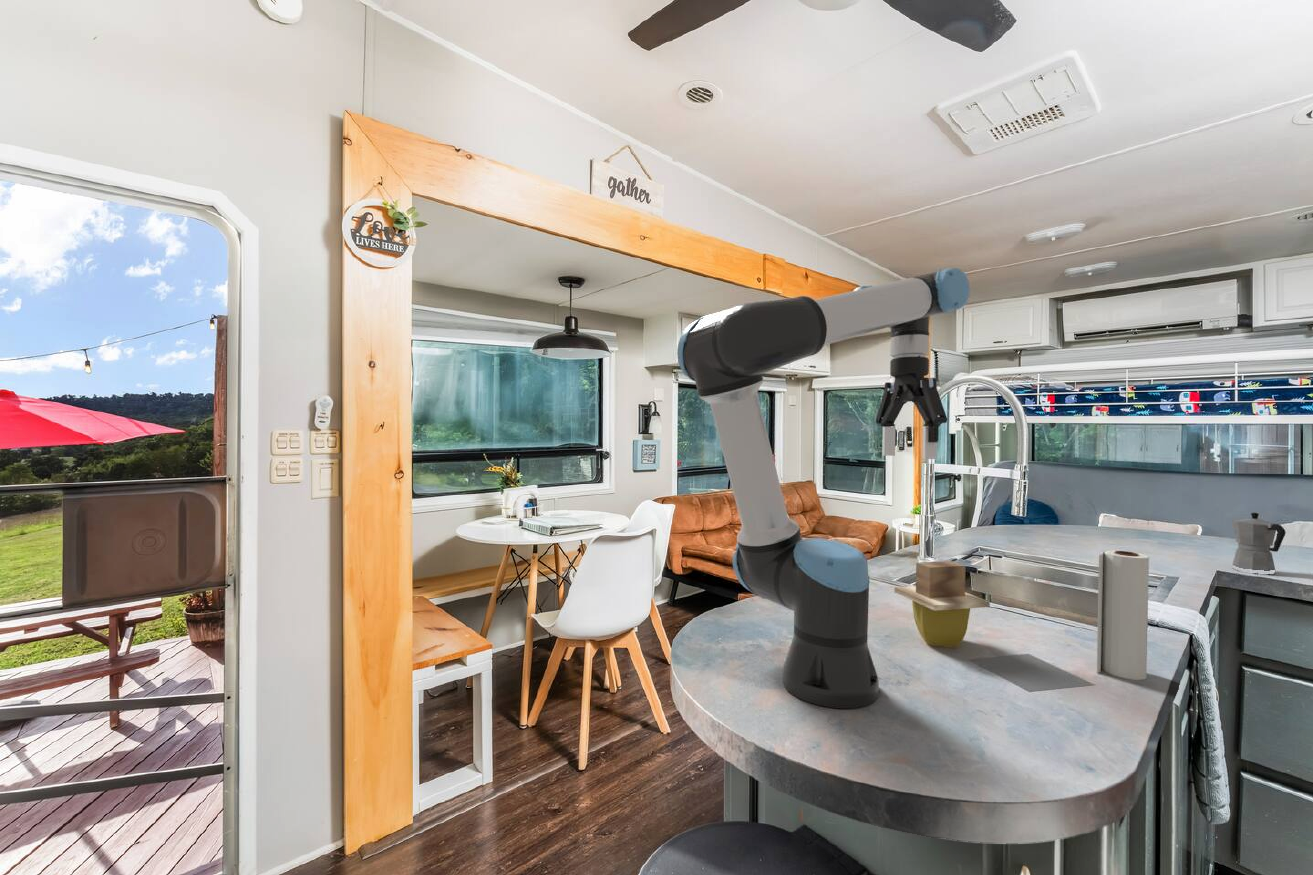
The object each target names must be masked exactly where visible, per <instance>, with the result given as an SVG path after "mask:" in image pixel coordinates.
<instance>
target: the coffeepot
mask: <svg viewBox="0 0 1313 875" xmlns="http://www.w3.org/2000/svg"><path fill="white" fill-rule="evenodd" d="M1250 515H1251V518H1242V519H1232V525H1233V532H1234V538H1235V542H1237V543H1238V544H1237V545H1238V548H1236V551H1235V552H1234V557H1233V560H1232V565H1234V566H1236V567H1239V568H1243V569H1252V570H1264V571H1270V570H1275V571H1276V568H1275V562H1274V558H1273V553H1272V552H1275V553H1276V552H1279V549H1280V548H1281V545H1282V542H1283V540H1284V538H1285V536H1286V529H1284V527H1283V526H1282V525H1281V524H1278V523H1273V522H1270V521H1266V520H1262V519H1259V518H1258V517H1259V515H1260V514H1259V513H1257V512H1250ZM1276 532H1277V533H1276ZM1275 536H1276V538H1275ZM1272 546H1273V547H1272ZM1232 565H1231V566H1232Z"/></svg>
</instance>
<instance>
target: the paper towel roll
mask: <svg viewBox="0 0 1313 875" xmlns="http://www.w3.org/2000/svg"><path fill="white" fill-rule="evenodd" d="M1149 570H1150V557H1149V555H1147V554H1143V553H1141V552H1140V553H1138V552H1133V551H1127V550H1105V551H1102V552H1101V553H1099V555H1098V584H1097V585H1098V588H1097V589H1098V593H1097V632H1096V634H1097V638H1096V641H1097V642H1096V674H1099V673H1101V672H1102V671H1101V670H1104V672H1105V673H1108V674H1110V675H1112V676H1115V677H1119V678H1122V679H1127V680H1134V681H1143V680H1146V679H1147V675H1148V673H1147V667H1148V666H1147V665H1148V624H1149V623H1148V622H1149V621H1148V619H1149V618H1148V617H1149V612H1148V611H1149V578H1150V577H1149V576H1150V574H1149Z"/></svg>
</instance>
